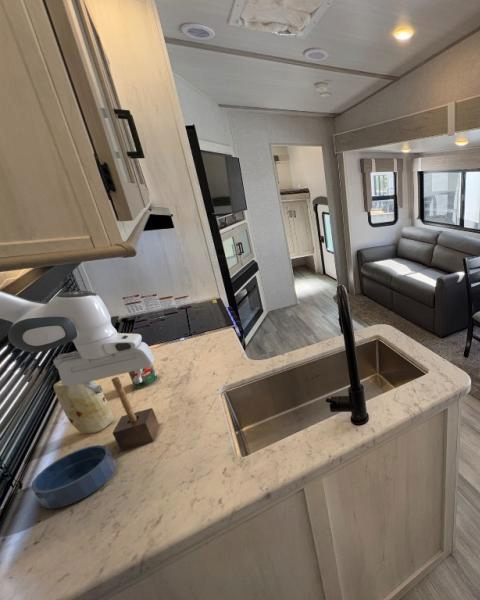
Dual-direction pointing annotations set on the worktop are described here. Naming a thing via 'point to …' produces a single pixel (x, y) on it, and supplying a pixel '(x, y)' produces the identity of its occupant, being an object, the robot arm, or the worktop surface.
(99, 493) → the worktop surface
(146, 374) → the canned tomato
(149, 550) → the worktop surface
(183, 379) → the worktop surface
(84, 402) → the food model
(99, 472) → the bowl
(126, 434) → the holder
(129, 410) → the stick
